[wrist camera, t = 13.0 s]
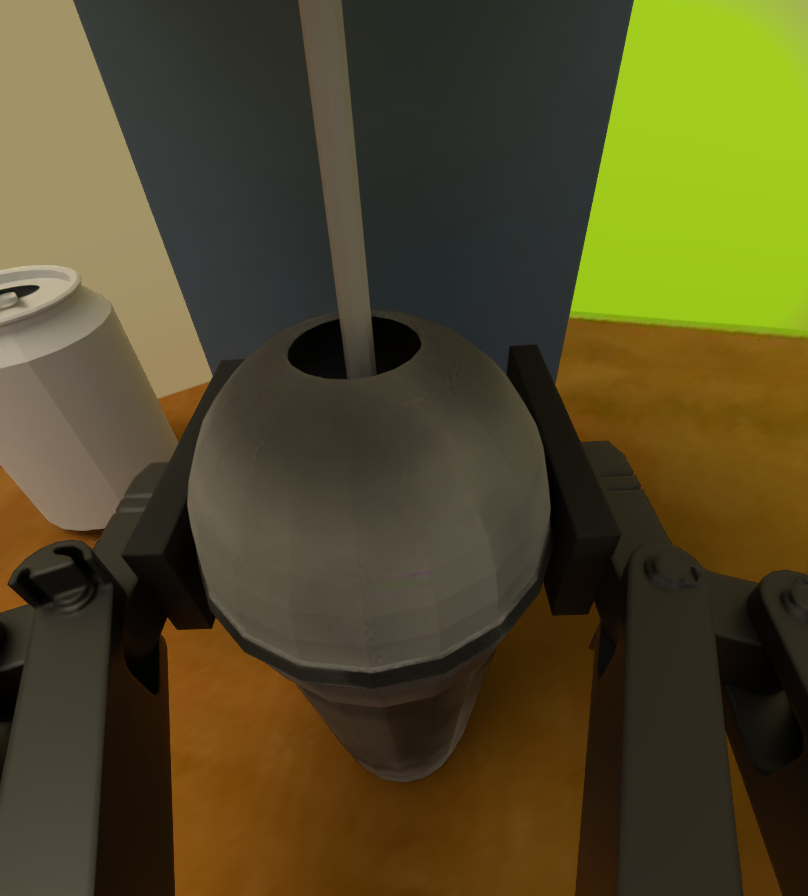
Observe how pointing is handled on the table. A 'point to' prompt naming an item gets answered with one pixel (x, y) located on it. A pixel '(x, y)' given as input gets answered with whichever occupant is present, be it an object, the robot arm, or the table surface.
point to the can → (72, 399)
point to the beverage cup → (369, 492)
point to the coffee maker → (369, 157)
